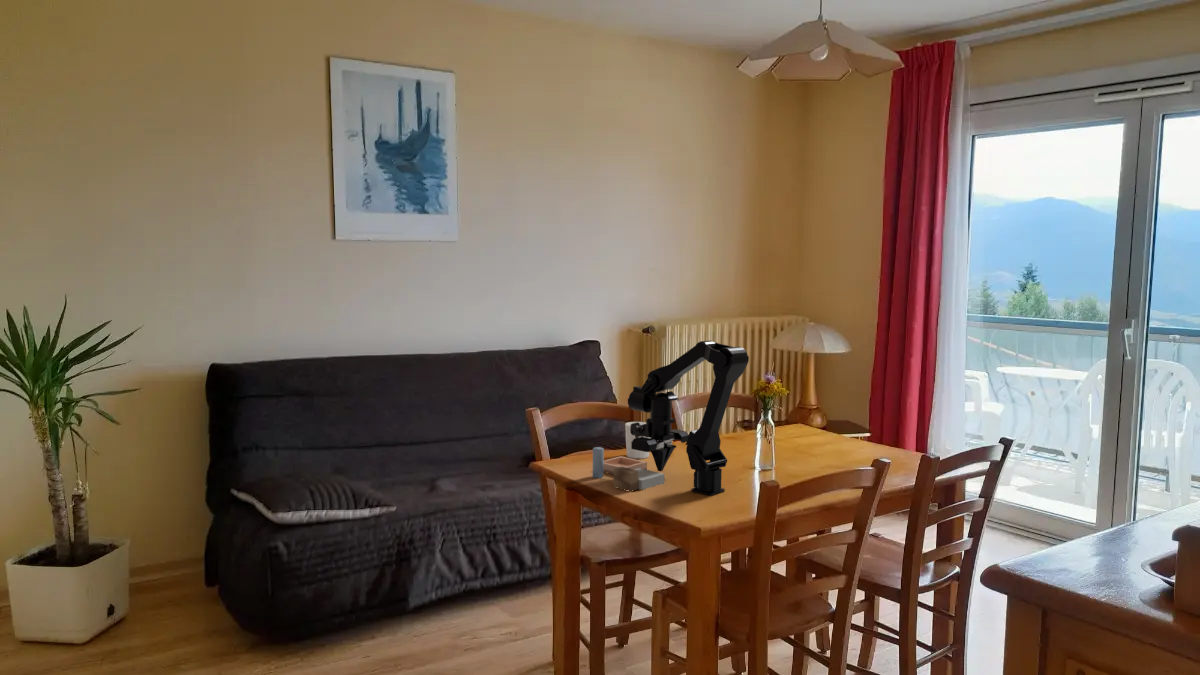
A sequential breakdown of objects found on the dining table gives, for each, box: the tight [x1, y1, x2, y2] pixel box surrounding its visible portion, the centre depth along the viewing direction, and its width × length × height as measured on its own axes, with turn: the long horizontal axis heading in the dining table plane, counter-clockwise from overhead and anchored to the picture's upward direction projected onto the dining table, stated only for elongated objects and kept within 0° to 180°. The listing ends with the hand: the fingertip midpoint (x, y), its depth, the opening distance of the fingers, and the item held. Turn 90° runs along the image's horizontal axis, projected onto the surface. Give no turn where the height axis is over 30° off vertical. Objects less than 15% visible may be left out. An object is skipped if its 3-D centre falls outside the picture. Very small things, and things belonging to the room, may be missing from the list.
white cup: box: [624, 421, 651, 460], centre depth 250 cm, size 8×8×10 cm
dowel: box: [592, 446, 605, 479], centre depth 225 cm, size 3×3×8 cm
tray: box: [603, 455, 648, 475], centre depth 233 cm, size 10×10×2 cm
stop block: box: [613, 467, 639, 492], centre depth 215 cm, size 6×3×5 cm, turn 46°
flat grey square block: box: [634, 468, 665, 490], centre depth 219 cm, size 9×9×3 cm
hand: (660, 471), depth 225 cm, fingers closed
